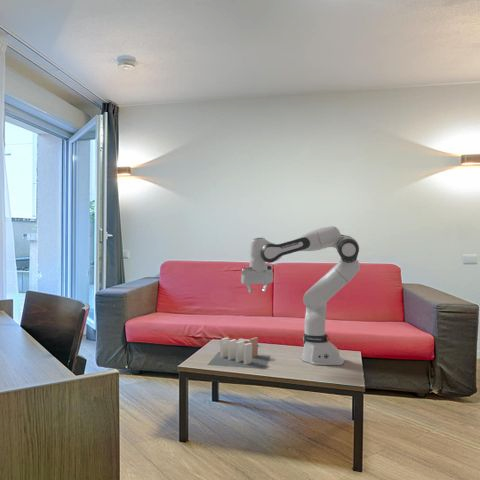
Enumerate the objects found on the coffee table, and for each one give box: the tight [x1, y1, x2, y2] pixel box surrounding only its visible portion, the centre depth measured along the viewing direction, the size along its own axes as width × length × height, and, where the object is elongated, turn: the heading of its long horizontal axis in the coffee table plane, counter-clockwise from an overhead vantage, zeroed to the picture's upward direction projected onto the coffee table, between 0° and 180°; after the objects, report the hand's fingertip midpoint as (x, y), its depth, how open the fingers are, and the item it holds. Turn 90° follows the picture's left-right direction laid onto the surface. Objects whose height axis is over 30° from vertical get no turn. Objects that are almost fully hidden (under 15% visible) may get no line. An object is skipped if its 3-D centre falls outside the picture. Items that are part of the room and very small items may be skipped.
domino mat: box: [207, 352, 271, 370], centre depth 203 cm, size 30×23×1 cm
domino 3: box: [236, 341, 244, 362], centre depth 202 cm, size 2×5×10 cm, turn 139°
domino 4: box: [244, 343, 252, 364], centre depth 198 cm, size 2×5×10 cm, turn 139°
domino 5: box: [249, 336, 259, 358], centre depth 210 cm, size 2×5×10 cm, turn 139°
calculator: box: [236, 338, 250, 344], centre depth 229 cm, size 11×4×15 cm
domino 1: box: [220, 337, 230, 358], centre depth 209 cm, size 2×5×10 cm, turn 139°
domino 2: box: [228, 338, 237, 360], centre depth 205 cm, size 2×5×10 cm, turn 140°
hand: (257, 291), depth 211 cm, fingers open, 8 cm apart
